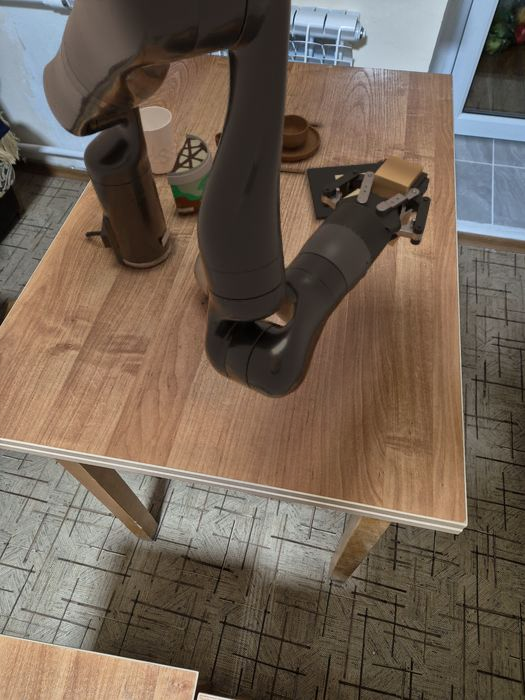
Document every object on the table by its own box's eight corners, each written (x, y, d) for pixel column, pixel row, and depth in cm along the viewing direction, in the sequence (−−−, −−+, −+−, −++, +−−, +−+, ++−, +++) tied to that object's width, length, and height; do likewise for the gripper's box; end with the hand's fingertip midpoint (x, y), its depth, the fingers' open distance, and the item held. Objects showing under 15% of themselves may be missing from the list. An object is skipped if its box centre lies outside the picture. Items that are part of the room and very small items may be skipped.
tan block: (392, 247, 70) (407, 186, 61) (363, 234, 71) (374, 174, 63) (407, 227, 72) (424, 166, 63) (378, 215, 73) (391, 154, 65)
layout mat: (316, 219, 93) (316, 216, 92) (307, 171, 101) (307, 167, 100) (414, 211, 93) (415, 208, 93) (397, 163, 101) (398, 160, 100)
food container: (208, 223, 93) (200, 178, 85) (176, 220, 94) (165, 174, 86) (224, 180, 100) (219, 134, 92) (194, 177, 101) (186, 131, 93)
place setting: (314, 175, 100) (316, 149, 95) (215, 167, 102) (211, 141, 98) (324, 123, 109) (326, 97, 105) (232, 117, 112) (230, 91, 107)
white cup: (181, 151, 106) (173, 105, 98) (179, 175, 102) (170, 129, 93) (144, 153, 106) (131, 107, 98) (140, 177, 102) (127, 131, 93)
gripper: (403, 254, 53) (467, 165, 60) (287, 204, 58) (360, 127, 65) (390, 300, 59) (450, 214, 67) (286, 251, 64) (353, 176, 71)
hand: (405, 171), depth 66 cm, fingers closed on tan block, 4 cm apart
